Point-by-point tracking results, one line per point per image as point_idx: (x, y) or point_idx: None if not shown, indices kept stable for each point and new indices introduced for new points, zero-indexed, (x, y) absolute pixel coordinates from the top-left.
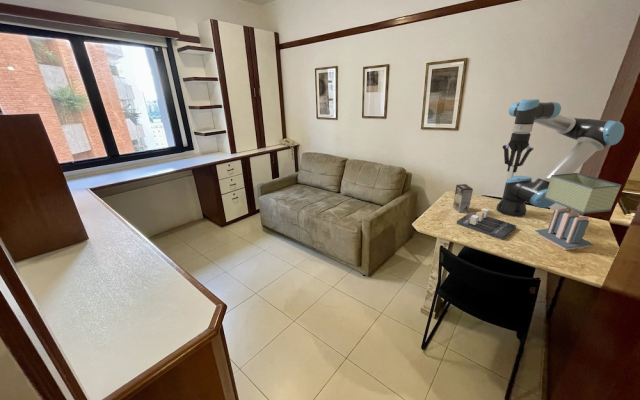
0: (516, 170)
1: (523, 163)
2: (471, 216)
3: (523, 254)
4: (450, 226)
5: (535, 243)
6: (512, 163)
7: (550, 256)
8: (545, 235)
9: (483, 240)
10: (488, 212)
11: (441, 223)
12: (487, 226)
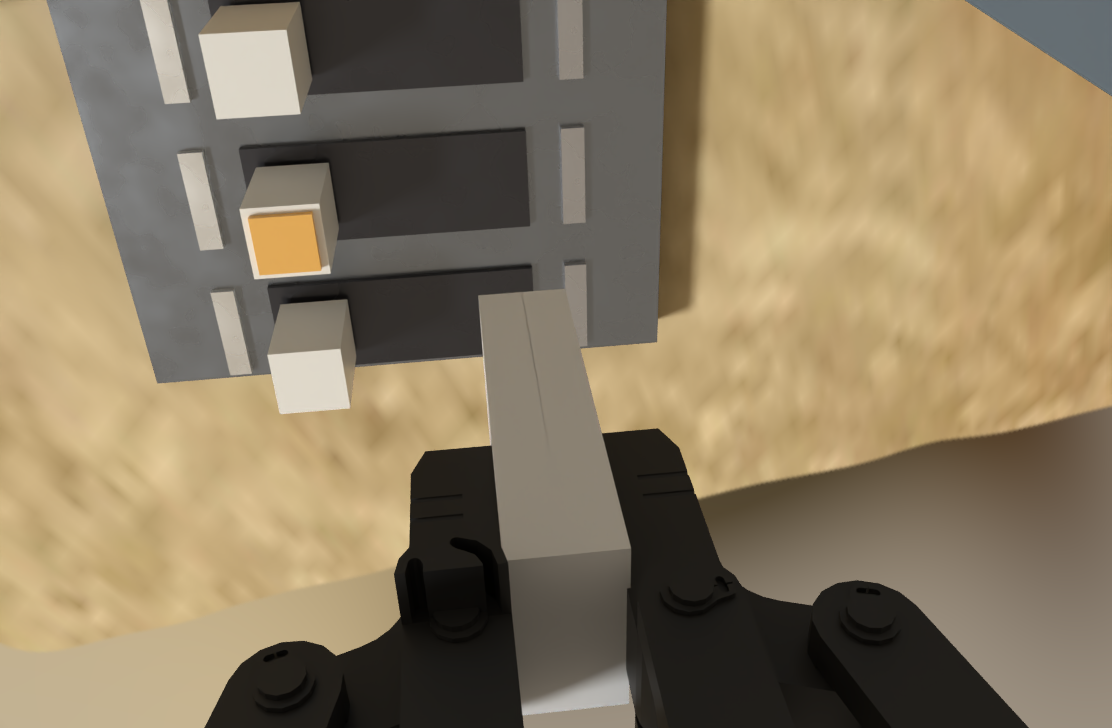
0: (684, 494)
1: (953, 652)
2: (286, 412)
3: (842, 411)
4: (177, 450)
5: (892, 151)
6: (513, 666)
7: (1013, 285)
8: (979, 6)
9: None
10: (292, 21)
11: (74, 464)
12: (447, 256)
